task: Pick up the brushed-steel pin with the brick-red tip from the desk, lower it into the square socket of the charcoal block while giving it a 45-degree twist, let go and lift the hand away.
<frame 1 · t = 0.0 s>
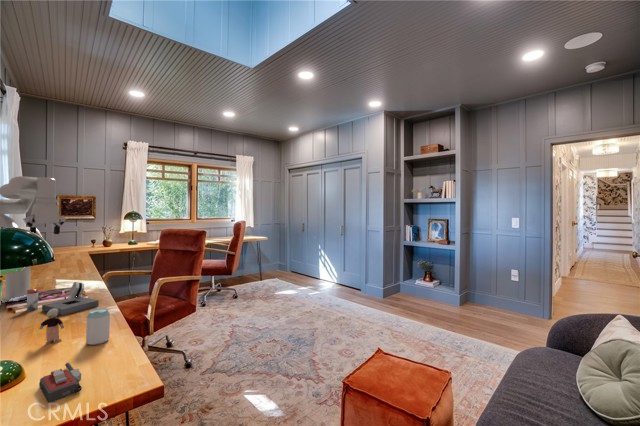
hand: (45, 234, 150), 37 cm above the table, tool pointing down, fingers open, 9 cm apart
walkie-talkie: (61, 385, 85), on the table
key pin: (32, 309, 144), on the table
can: (97, 342, 111), on the table
socket block: (71, 308, 147), on the table
grandmother figurine: (51, 342, 110), on the table
grey curved electronic device: (74, 299, 163), on the table
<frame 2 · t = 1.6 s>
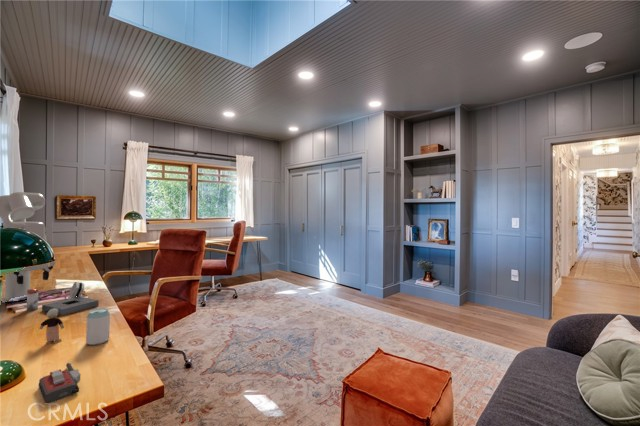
hand: (33, 281, 143), 14 cm above the table, tool pointing down, fingers open, 9 cm apart
nothing on the table moved.
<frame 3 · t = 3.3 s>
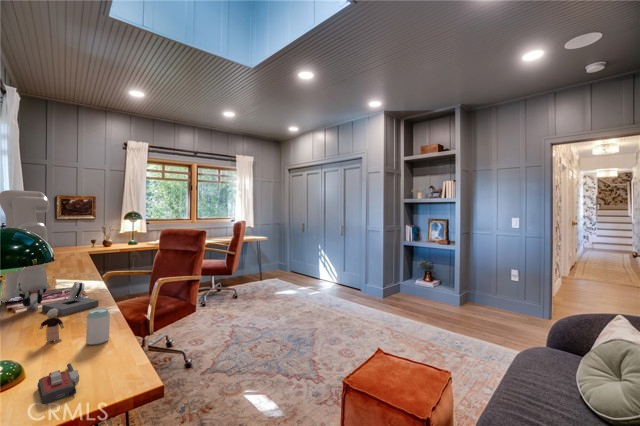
hand: (32, 304, 144), 3 cm above the table, tool pointing down, fingers closed on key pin, 4 cm apart
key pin: (32, 309, 144), on the table, touching gripper
everything else where it was.
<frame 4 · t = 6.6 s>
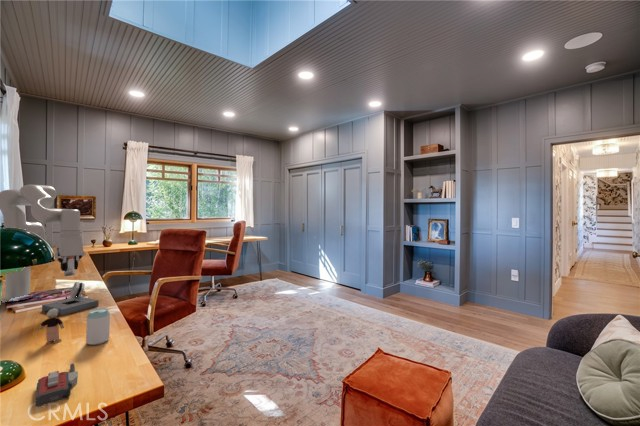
hand: (69, 269, 147), 20 cm above the table, tool pointing down, fingers closed on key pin, 4 cm apart
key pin: (69, 275, 147), point 17 cm above the table, touching gripper
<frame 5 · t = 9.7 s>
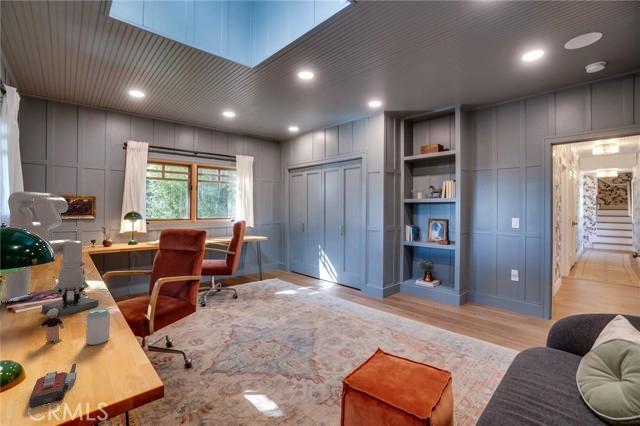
hand: (71, 301, 147), 4 cm above the table, tool pointing down, fingers closed on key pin, 4 cm apart
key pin: (71, 306, 147), point 1 cm above the table, touching gripper
when the fingers open (4 cm above the table, at t = 9.7 s): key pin stays where it is, resting in socket block.
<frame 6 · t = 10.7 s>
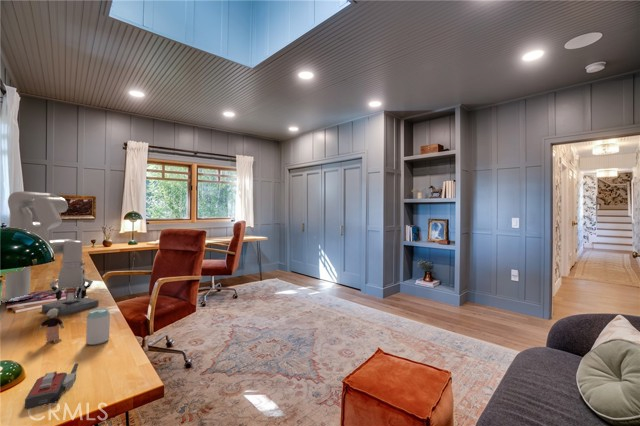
hand: (71, 298, 147), 5 cm above the table, tool pointing down, fingers open, 9 cm apart
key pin: (71, 308, 147), resting in socket block
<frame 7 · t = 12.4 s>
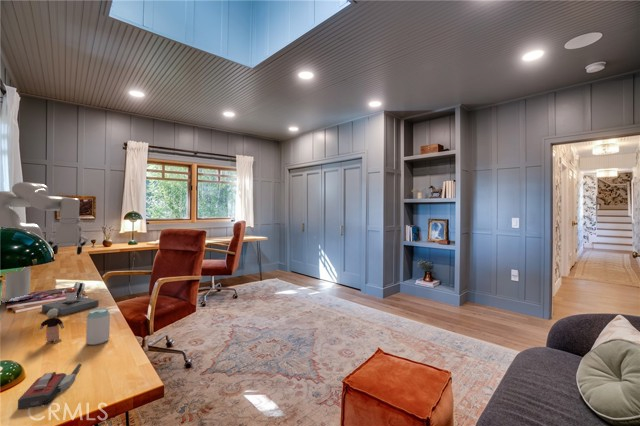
hand: (67, 254, 151), 27 cm above the table, tool pointing down, fingers open, 9 cm apart
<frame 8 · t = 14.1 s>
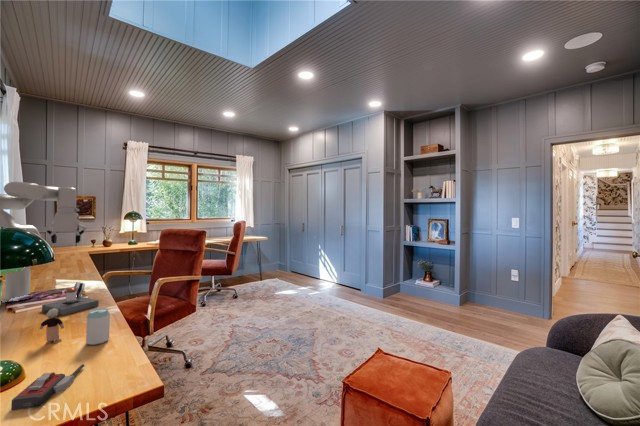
hand: (66, 242, 154), 32 cm above the table, tool pointing down, fingers open, 9 cm apart
at the end: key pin 0.0 cm off-centre on the socket block, point 0.0 cm above the socket block's base; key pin tilted 0°; the gripper is holding nothing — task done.
